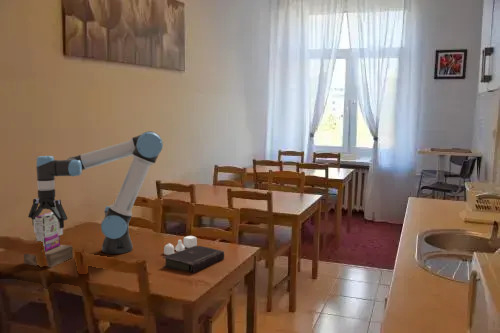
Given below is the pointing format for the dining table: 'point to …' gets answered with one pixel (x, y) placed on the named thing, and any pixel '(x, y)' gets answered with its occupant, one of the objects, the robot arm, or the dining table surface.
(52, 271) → the dining table surface
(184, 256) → the diary
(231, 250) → the dining table surface
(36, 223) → the candy bar box
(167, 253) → the container set
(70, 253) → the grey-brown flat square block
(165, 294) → the dining table surface
